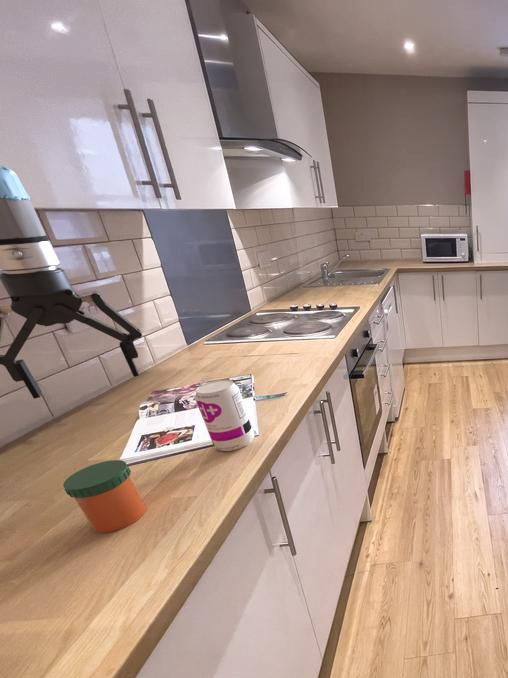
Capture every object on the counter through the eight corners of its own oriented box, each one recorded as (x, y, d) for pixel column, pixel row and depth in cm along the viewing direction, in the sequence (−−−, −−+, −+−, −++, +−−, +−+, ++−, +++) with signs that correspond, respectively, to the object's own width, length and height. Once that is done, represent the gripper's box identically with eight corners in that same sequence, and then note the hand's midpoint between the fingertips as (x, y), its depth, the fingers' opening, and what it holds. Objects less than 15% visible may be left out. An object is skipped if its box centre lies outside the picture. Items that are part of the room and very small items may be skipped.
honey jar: (81, 534, 72) (54, 491, 67) (115, 505, 78) (92, 464, 74) (126, 531, 72) (101, 488, 68) (155, 502, 79) (135, 462, 74)
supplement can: (233, 455, 92) (211, 396, 86) (206, 449, 95) (183, 391, 88) (263, 436, 99) (244, 381, 93) (237, 431, 102) (218, 376, 95)
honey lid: (53, 499, 68) (48, 491, 67) (95, 469, 75) (91, 461, 74) (106, 496, 68) (101, 488, 67) (142, 466, 75) (138, 458, 75)
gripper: (-100, 284, 58) (-15, 413, 67) (128, 263, 73) (173, 371, 82) (-82, 277, 63) (-5, 398, 72) (128, 258, 78) (170, 361, 87)
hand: (89, 384), depth 77 cm, fingers open, 13 cm apart
